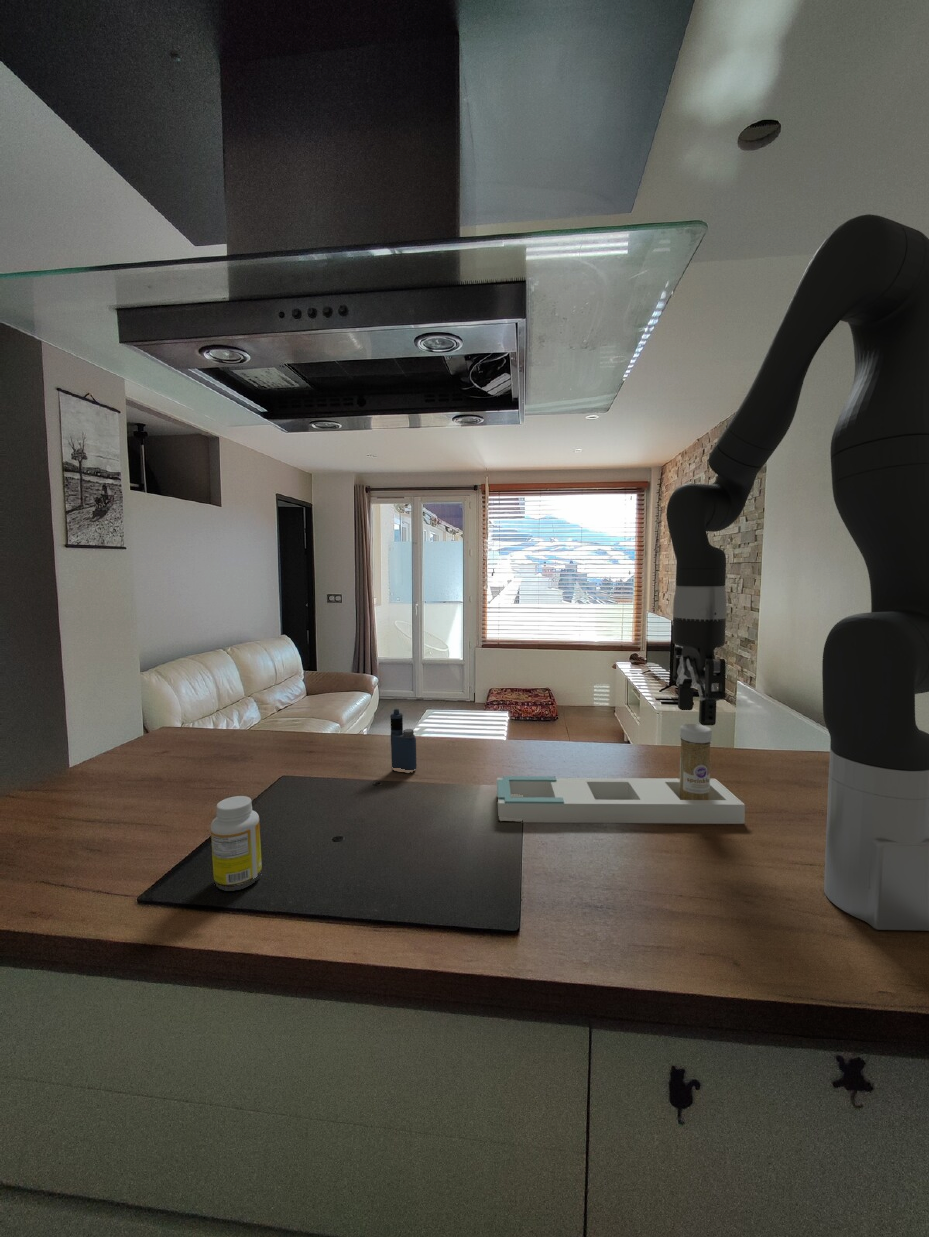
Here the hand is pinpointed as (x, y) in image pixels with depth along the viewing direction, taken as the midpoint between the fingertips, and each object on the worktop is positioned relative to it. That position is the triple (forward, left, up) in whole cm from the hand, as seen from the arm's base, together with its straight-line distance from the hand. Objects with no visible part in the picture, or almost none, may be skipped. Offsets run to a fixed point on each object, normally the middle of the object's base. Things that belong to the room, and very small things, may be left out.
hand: (695, 716), depth 82 cm
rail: (0, +13, -15) cm, 20 cm away
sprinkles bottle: (0, 0, -15) cm, 15 cm away
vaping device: (+16, +49, -15) cm, 54 cm away
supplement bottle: (-21, +64, -15) cm, 70 cm away
